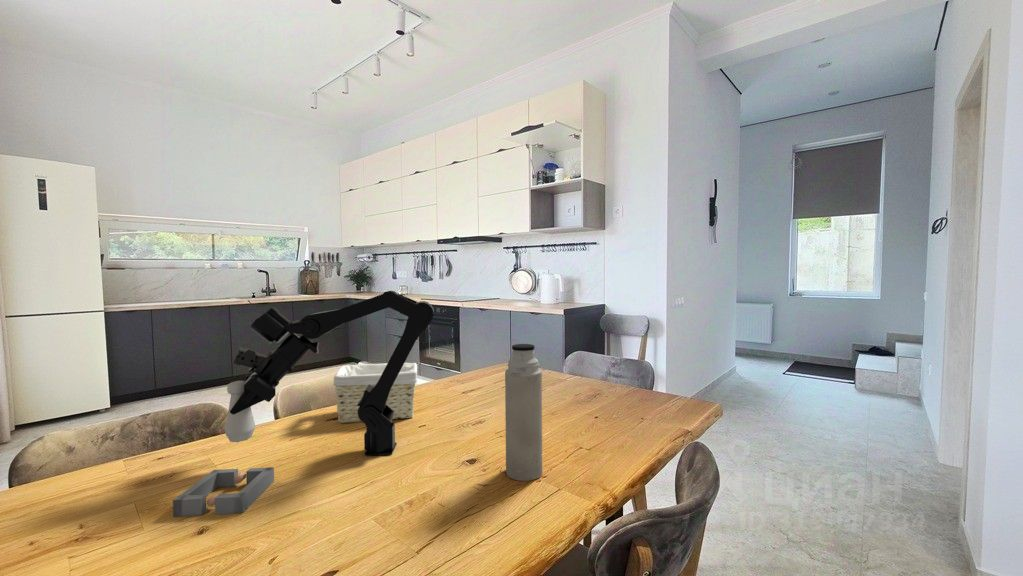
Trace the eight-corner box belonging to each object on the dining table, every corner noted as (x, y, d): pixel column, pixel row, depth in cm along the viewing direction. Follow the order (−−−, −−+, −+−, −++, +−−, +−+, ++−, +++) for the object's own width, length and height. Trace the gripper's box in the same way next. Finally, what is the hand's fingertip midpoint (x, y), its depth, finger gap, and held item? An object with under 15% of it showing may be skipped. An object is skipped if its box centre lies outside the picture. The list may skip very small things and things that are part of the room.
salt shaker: (240, 444, 92) (238, 385, 92) (218, 443, 93) (216, 384, 93) (261, 434, 98) (259, 379, 98) (240, 433, 99) (238, 378, 99)
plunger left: (223, 499, 80) (223, 491, 80) (216, 506, 78) (215, 497, 78) (214, 500, 80) (214, 491, 80) (206, 506, 78) (206, 497, 78)
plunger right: (247, 478, 89) (247, 470, 89) (242, 483, 87) (241, 475, 87) (239, 478, 89) (239, 471, 89) (233, 483, 86) (233, 475, 86)
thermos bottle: (512, 462, 98) (511, 341, 97) (546, 466, 95) (545, 342, 94) (500, 477, 90) (499, 346, 89) (536, 483, 88) (535, 348, 87)
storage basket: (417, 404, 143) (416, 360, 143) (418, 420, 127) (417, 371, 127) (342, 409, 138) (341, 364, 137) (332, 427, 122) (331, 376, 121)
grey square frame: (274, 481, 89) (273, 467, 89) (242, 513, 77) (242, 496, 77) (214, 483, 88) (214, 469, 88) (173, 516, 77) (172, 500, 76)
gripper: (258, 330, 105) (205, 380, 100) (254, 339, 89) (192, 400, 84) (295, 358, 109) (246, 407, 104) (298, 372, 93) (241, 431, 88)
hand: (232, 411), depth 95 cm, fingers closed on salt shaker, 3 cm apart
